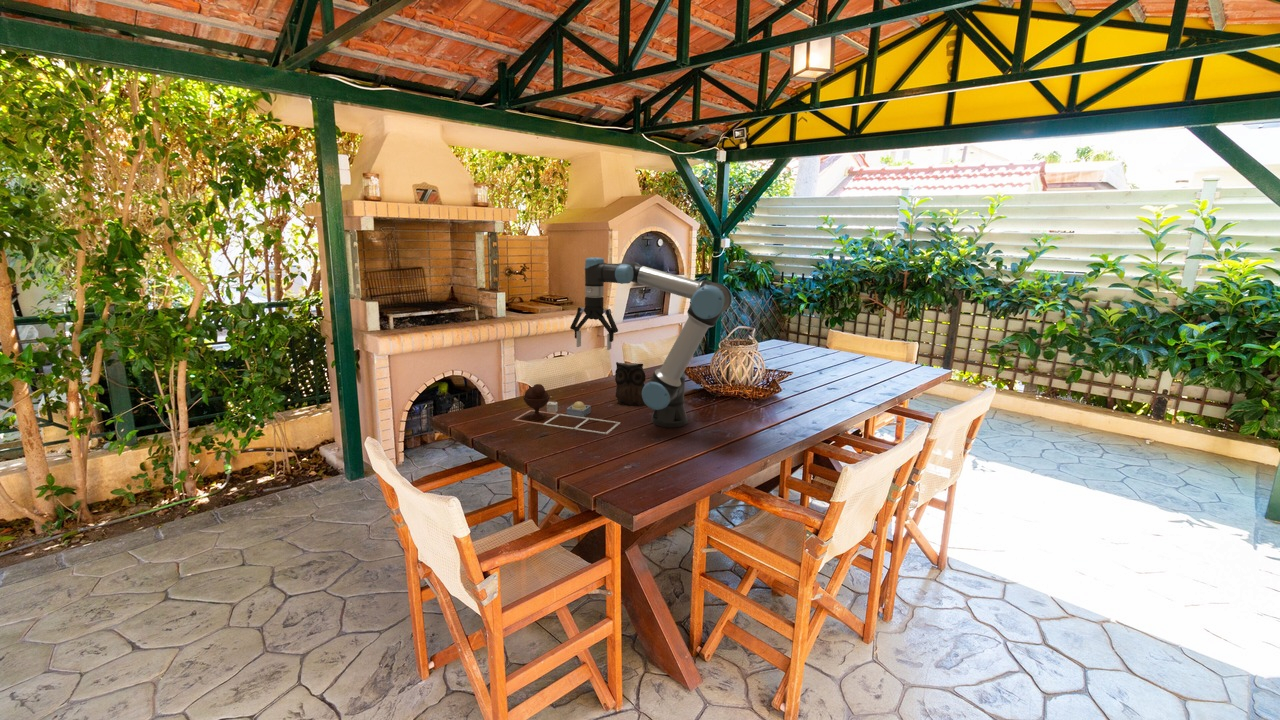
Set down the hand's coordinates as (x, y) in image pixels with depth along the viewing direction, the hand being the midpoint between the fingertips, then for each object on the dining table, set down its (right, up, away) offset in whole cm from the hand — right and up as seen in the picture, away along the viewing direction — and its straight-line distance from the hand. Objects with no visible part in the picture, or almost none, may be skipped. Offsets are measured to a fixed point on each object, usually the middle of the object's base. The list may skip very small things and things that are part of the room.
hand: (593, 348), depth 239 cm
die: (-20, -28, +19) cm, 39 cm away
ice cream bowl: (-25, -30, +10) cm, 40 cm away
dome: (-8, -28, +17) cm, 34 cm away
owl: (+15, -25, +35) cm, 46 cm away
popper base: (-8, -28, +17) cm, 34 cm away
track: (-12, -31, +6) cm, 34 cm away
